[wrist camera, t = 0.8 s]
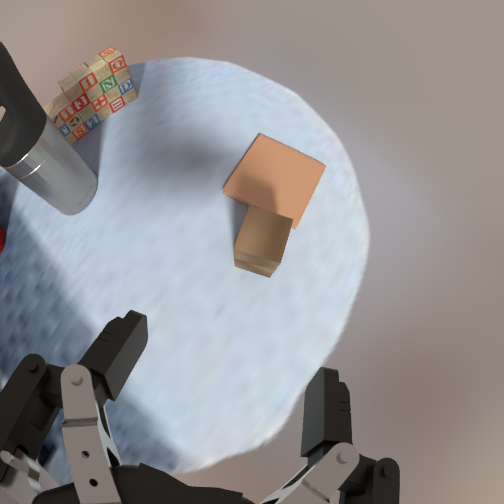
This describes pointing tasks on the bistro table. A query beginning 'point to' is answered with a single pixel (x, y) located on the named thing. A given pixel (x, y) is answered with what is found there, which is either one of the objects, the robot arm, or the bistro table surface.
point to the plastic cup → (2, 239)
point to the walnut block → (261, 241)
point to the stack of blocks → (91, 94)
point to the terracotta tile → (275, 179)
